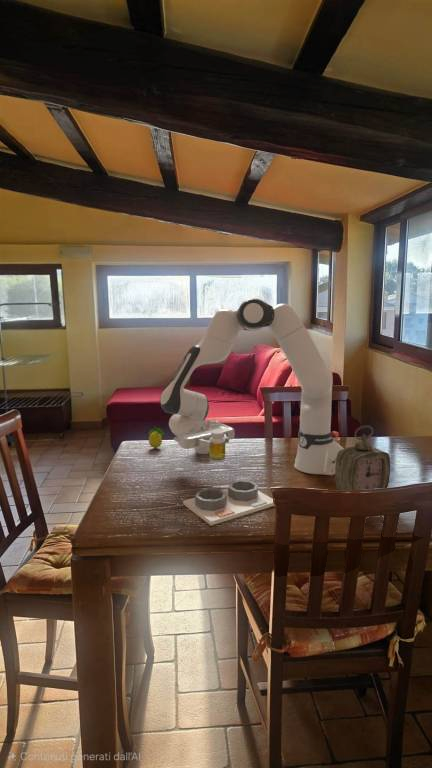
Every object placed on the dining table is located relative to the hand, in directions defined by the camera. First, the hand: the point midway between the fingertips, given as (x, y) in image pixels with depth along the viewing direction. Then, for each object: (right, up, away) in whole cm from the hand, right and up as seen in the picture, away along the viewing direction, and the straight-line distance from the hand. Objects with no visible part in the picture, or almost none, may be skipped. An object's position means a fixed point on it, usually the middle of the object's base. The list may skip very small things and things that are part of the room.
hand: (218, 442), depth 154 cm
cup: (-6, -9, +39) cm, 40 cm away
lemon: (-26, -8, +43) cm, 51 cm away
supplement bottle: (0, -6, +2) cm, 6 cm away
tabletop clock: (+43, -18, -9) cm, 48 cm away
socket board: (+3, -18, -10) cm, 21 cm away
